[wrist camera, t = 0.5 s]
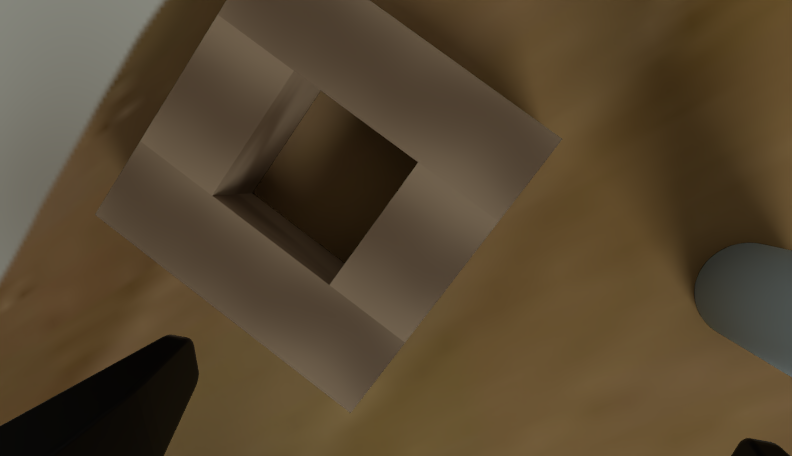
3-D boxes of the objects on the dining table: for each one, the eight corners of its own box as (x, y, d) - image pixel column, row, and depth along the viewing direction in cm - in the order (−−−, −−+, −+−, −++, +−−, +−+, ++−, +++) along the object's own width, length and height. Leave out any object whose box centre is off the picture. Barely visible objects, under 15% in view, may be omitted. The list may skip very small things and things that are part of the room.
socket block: (368, 376, 25) (350, 413, 21) (151, 209, 26) (95, 214, 22) (545, 146, 23) (562, 138, 19) (302, -30, 24) (270, -72, 20)
